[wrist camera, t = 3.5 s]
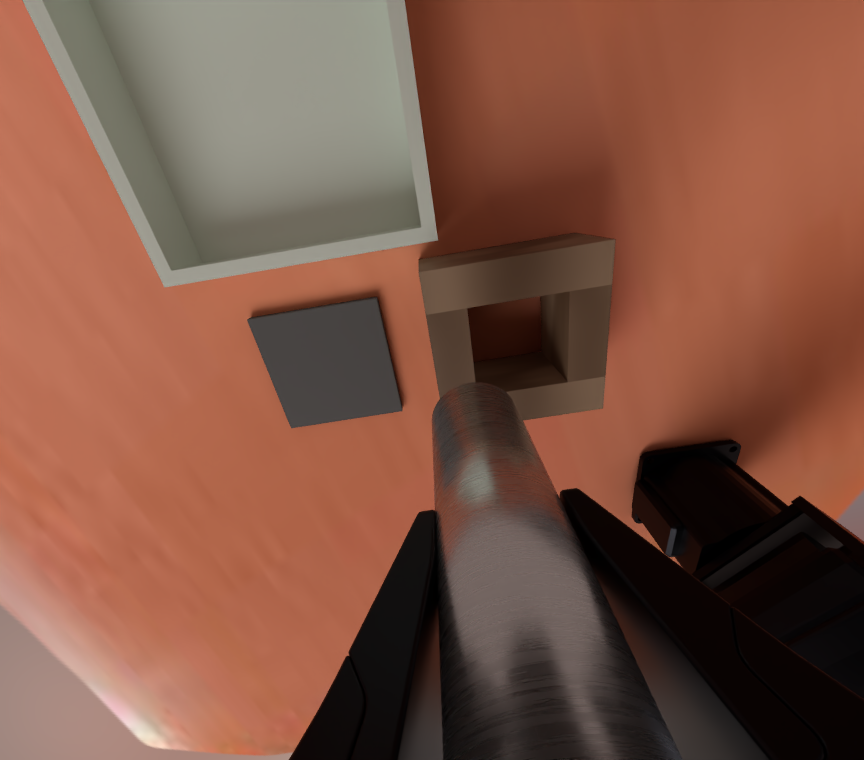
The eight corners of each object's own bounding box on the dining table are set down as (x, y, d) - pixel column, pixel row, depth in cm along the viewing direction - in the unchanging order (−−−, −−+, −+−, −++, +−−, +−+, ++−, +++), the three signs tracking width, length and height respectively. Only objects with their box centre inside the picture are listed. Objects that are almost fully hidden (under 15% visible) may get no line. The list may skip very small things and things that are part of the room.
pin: (514, 375, 11) (731, 769, 3) (520, 448, 13) (689, 862, 5) (424, 390, 12) (423, 801, 4) (439, 461, 13) (464, 879, 5)
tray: (382, -136, 12) (371, -235, 9) (434, 235, 17) (437, 240, 15) (52, -66, 12) (-48, -141, 10) (203, 275, 18) (164, 287, 15)
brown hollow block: (575, 232, 18) (615, 239, 14) (571, 374, 21) (603, 408, 17) (418, 259, 18) (418, 272, 14) (441, 394, 21) (445, 432, 18)
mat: (377, 296, 19) (376, 298, 18) (402, 407, 22) (402, 411, 21) (250, 317, 19) (246, 319, 18) (293, 424, 22) (291, 428, 22)
